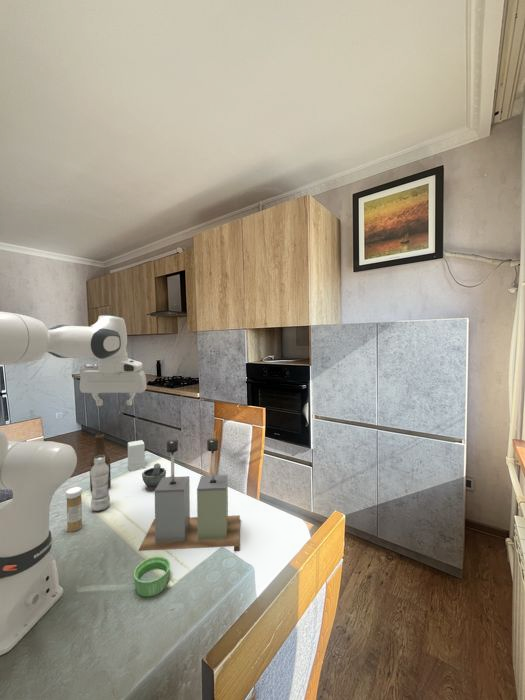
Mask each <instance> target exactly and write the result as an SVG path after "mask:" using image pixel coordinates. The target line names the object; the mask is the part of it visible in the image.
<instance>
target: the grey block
mask: <svg viewBox="0 0 525 700" xmlns="http://www.w3.org/2000/svg"><path fill="white" fill-rule="evenodd" d="M190 493H191V492H190V476H174V484H172V485H171V476H165V477H162V479H161V481H160V482H159V484H158V486H157V487H156V489H155V491H154V519H155V542H170V541H185V538H186V535H187V531H188V528H189V525H190V517H191V510H190V509H191V508H190V506H191V505H190V504H191V501H190Z"/></svg>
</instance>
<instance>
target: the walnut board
mask: <svg viewBox="0 0 525 700" xmlns="http://www.w3.org/2000/svg"><path fill="white" fill-rule="evenodd" d="M240 519H241V516H240V515H228V527H227V539H213V540H198V528H197V516H193V517H191V516H190V525H189V528H188V531H187V535H186V538H185V541H170V542H155V518H154V519H153V521H152V523H151V525H150V527H149V529H148V531H147V532H146V534H145V537H144V539H143V540H142V542H141V544H140V547H139V548H138V552H143V551H144V552H145V551H161V550H184V549H203V548H221V547H222V548H224V547H226V548H227V547H233V552H236V551H238V552H239V551H240V529H241V528H240V526H241V525H240V523H241V522H240V521H241V520H240Z"/></svg>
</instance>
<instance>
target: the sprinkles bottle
mask: <svg viewBox="0 0 525 700" xmlns="http://www.w3.org/2000/svg"><path fill="white" fill-rule="evenodd" d="M82 489H83V488H82V487H80V486H74V487H71V488H69V489H67V490H66V491H65V497H66V498H65V499H66V525H67V526H66V531H67V532H69V533H72V532H76V531H79V530H80V529H81V528H82V527H83V519H82V518H83V509H82V508H83V505H82V504H83V502H82V495H83V494H82V493H83V490H82Z"/></svg>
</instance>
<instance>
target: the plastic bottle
mask: <svg viewBox="0 0 525 700" xmlns="http://www.w3.org/2000/svg"><path fill="white" fill-rule="evenodd" d="M94 463H95V464H94V466H93V467H92V469H91V471H90V470H89V477H90V476H91V481H92V492H91V499H90V506H91V510H92V511H95V512H99V511H104V510H105V509H106V508H108V507H109V506H110V502H111V498H110V496H111V495H110V492H109V490H108V475H109V467H108V465H107V464H106V463H105V456H104V455H100V456H96V457H95V458H94Z"/></svg>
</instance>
